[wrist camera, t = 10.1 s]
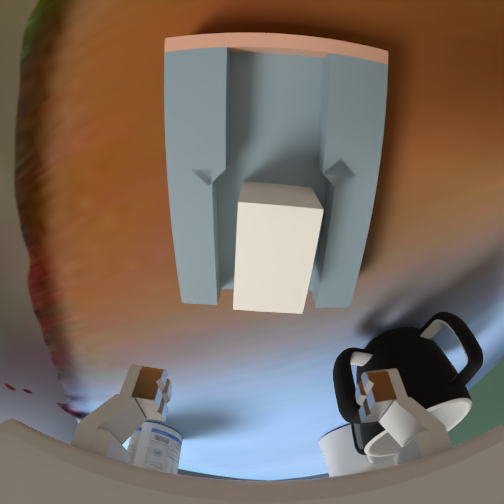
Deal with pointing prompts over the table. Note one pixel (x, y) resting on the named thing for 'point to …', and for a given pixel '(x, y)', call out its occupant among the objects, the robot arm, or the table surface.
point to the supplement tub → (155, 447)
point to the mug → (409, 378)
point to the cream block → (275, 246)
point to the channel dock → (271, 147)
